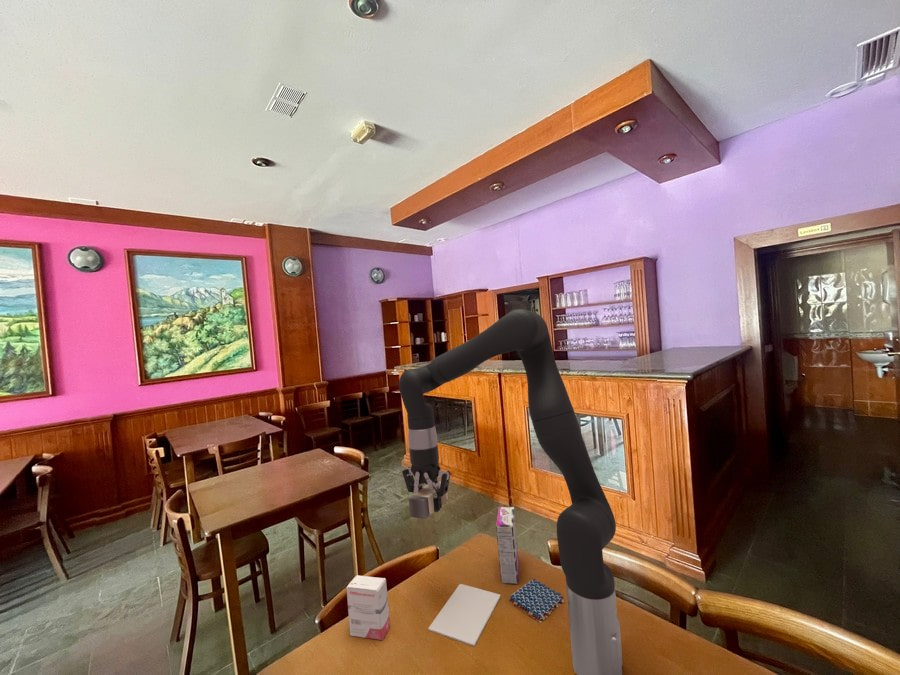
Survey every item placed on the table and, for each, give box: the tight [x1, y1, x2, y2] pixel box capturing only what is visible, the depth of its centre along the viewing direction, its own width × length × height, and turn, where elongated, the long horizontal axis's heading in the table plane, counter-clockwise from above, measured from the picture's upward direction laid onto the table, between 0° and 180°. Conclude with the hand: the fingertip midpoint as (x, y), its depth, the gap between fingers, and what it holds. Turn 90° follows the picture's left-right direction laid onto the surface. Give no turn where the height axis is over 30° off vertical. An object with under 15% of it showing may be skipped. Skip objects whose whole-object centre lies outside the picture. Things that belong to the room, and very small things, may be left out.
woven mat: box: [508, 578, 565, 624], centre depth 93 cm, size 10×11×2 cm
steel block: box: [408, 480, 449, 520], centre depth 96 cm, size 4×4×12 cm
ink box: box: [346, 575, 391, 641], centre depth 88 cm, size 9×5×12 cm, turn 74°
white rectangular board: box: [427, 583, 502, 647], centre depth 92 cm, size 12×17×1 cm
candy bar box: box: [495, 506, 520, 585], centre depth 106 cm, size 11×5×16 cm, turn 168°
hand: (429, 509), depth 95 cm, fingers closed on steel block, 4 cm apart
